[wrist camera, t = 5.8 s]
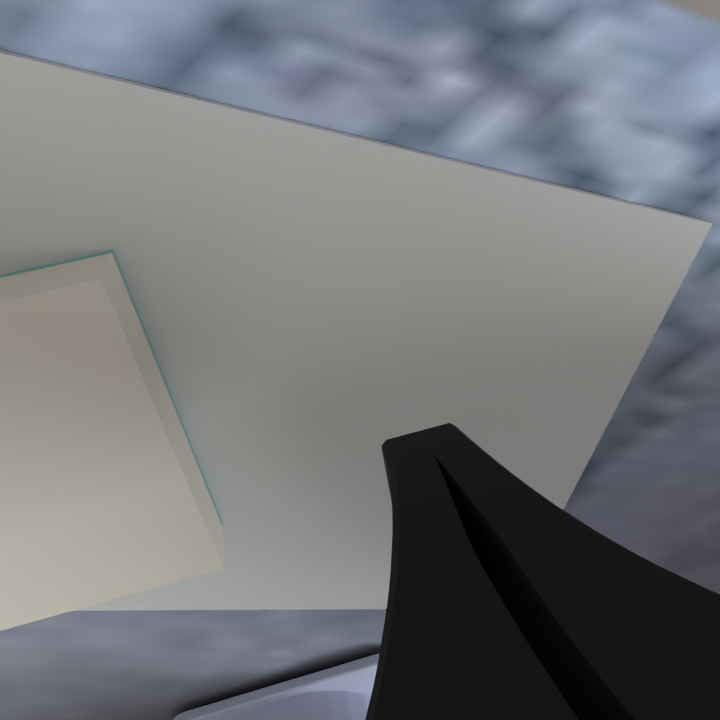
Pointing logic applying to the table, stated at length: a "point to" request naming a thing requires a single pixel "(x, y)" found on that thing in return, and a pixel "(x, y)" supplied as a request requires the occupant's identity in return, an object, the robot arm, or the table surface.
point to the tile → (90, 449)
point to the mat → (333, 310)
